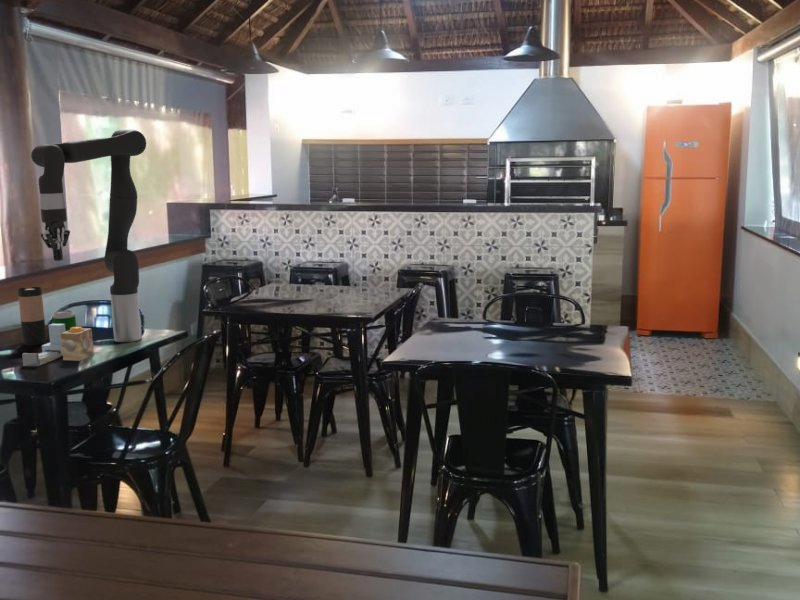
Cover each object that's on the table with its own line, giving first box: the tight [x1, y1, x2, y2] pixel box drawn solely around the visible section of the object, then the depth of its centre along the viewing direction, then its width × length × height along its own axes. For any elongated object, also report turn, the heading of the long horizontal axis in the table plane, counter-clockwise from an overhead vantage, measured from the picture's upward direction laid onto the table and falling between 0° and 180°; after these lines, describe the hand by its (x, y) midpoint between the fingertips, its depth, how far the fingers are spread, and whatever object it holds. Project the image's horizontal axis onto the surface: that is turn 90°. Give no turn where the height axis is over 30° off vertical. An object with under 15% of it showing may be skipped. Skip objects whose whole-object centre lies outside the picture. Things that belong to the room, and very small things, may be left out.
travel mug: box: [17, 286, 47, 346], centre depth 270 cm, size 8×8×20 cm
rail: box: [21, 350, 63, 368], centre depth 251 cm, size 23×5×4 cm, turn 170°
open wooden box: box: [61, 327, 95, 362], centre depth 250 cm, size 8×6×9 cm
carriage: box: [41, 323, 66, 355], centre depth 254 cm, size 7×8×10 cm
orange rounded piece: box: [70, 326, 83, 333], centre depth 249 cm, size 4×4×5 cm
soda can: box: [51, 309, 77, 331], centre depth 268 cm, size 8×8×12 cm
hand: (58, 260), depth 249 cm, fingers closed
